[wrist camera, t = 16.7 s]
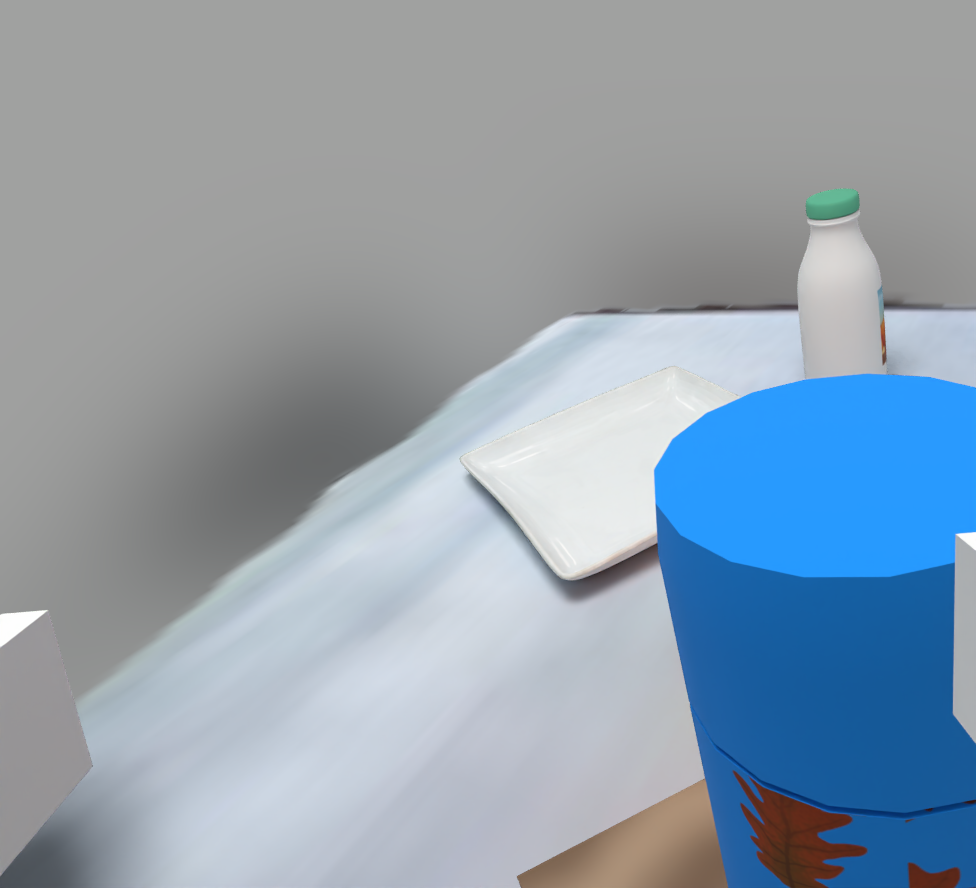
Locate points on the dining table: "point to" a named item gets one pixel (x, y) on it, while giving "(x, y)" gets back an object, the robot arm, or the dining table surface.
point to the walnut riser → (644, 851)
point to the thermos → (826, 627)
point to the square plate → (593, 469)
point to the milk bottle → (840, 292)
